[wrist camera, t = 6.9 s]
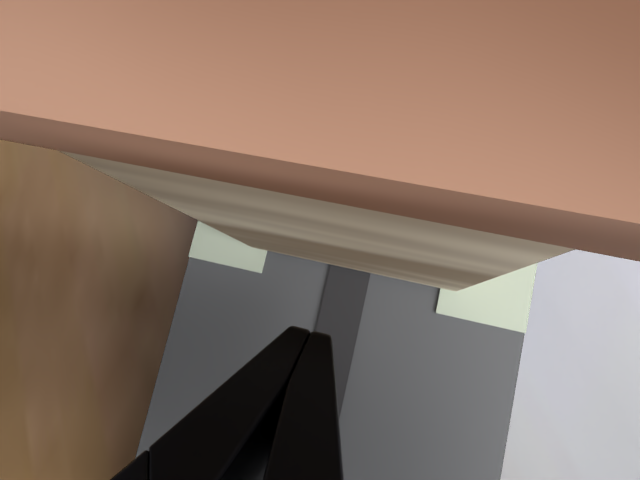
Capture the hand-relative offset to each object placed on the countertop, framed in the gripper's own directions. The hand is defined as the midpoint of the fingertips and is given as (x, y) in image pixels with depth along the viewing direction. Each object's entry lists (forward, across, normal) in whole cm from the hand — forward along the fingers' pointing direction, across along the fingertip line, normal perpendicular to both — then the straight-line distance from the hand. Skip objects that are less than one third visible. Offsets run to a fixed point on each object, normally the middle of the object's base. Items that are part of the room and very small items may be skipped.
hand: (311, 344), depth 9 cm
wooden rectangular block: (+5, 0, 0) cm, 5 cm away
